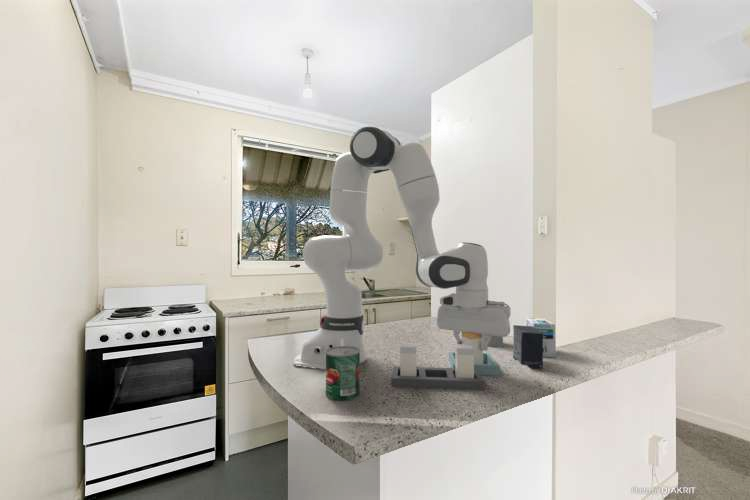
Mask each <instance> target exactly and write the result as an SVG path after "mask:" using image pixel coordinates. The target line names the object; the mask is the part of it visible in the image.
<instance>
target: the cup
mask: <svg viewBox="0 0 750 500" xmlns="http://www.w3.org/2000/svg"><path fill="white" fill-rule="evenodd" d="M482 340H483V343H485V342H486V340H487V339H486V338H485V334H482ZM502 345H503V346H504V337H501V336H493V335H492V338H491V340H490V341H489V343H488V348H489V347H491V348H496V347H498V348H499V346H500V347H503V346H502Z"/></svg>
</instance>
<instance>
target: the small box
mask: <svg viewBox="0 0 750 500" xmlns="http://www.w3.org/2000/svg"><path fill="white" fill-rule="evenodd" d="M512 329H513V347H512V349H513V351H512V358H513V359H514V360H515V361H517V362H518V363H519V364H520V365H522V366H527V368H530V369H541V370H542V369H543V367H544V361H543V360H544V357H543V333H542V332H540V331H539V330H537V329H536V328H534V327H533V326H527V325H516V324H513V325H512Z"/></svg>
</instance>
